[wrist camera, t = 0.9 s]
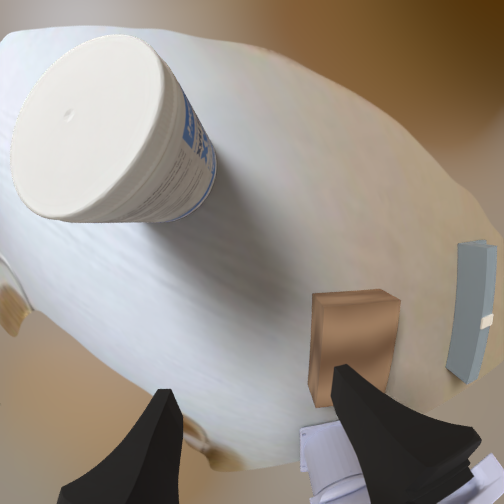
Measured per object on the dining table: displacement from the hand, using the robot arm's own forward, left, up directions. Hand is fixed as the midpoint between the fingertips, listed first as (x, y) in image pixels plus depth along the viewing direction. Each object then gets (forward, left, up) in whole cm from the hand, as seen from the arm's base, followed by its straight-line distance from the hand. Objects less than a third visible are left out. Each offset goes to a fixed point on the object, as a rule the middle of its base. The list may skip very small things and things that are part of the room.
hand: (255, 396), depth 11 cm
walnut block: (-5, -9, -14) cm, 17 cm away
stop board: (-5, -26, -14) cm, 30 cm away
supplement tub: (+13, +6, -14) cm, 20 cm away
